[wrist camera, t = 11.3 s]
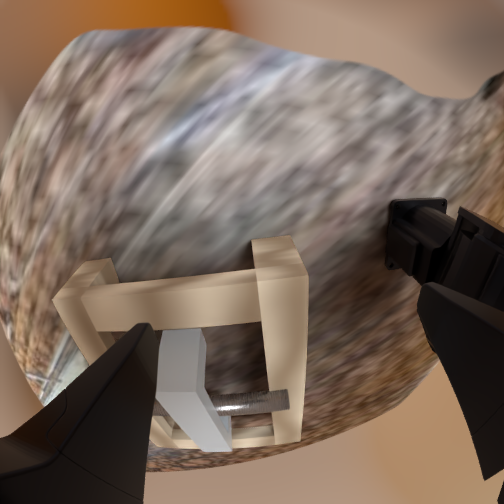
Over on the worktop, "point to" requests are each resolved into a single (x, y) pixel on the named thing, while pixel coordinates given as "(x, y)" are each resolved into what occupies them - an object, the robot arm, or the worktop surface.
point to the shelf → (205, 323)
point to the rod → (242, 403)
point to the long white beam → (190, 390)
